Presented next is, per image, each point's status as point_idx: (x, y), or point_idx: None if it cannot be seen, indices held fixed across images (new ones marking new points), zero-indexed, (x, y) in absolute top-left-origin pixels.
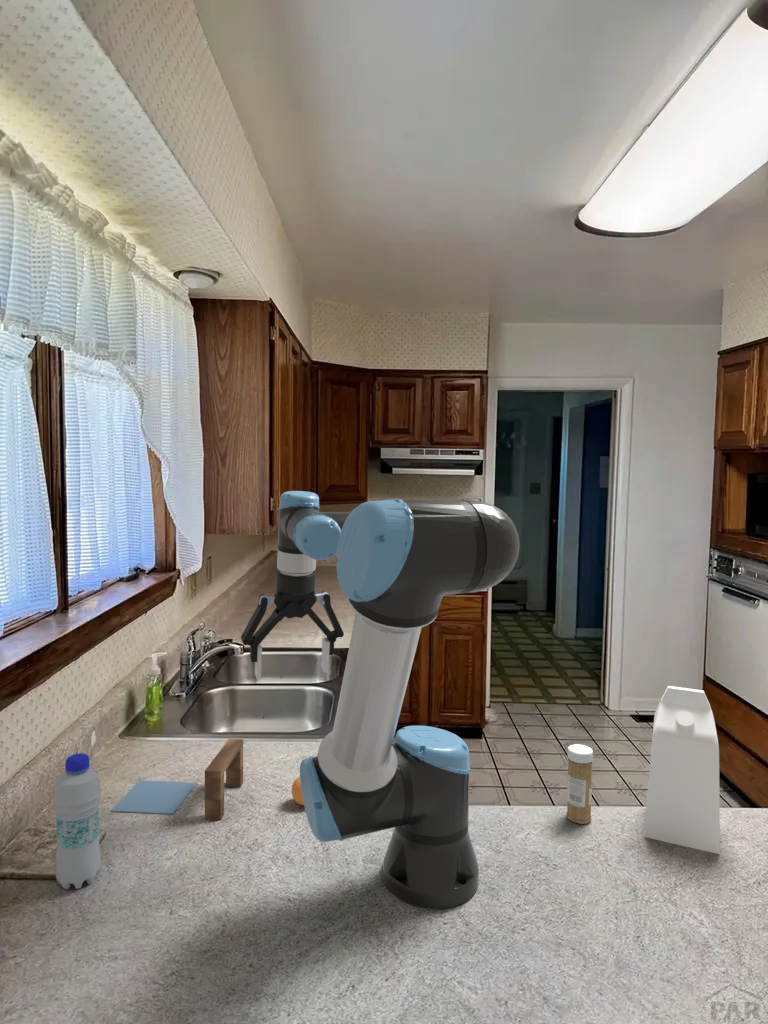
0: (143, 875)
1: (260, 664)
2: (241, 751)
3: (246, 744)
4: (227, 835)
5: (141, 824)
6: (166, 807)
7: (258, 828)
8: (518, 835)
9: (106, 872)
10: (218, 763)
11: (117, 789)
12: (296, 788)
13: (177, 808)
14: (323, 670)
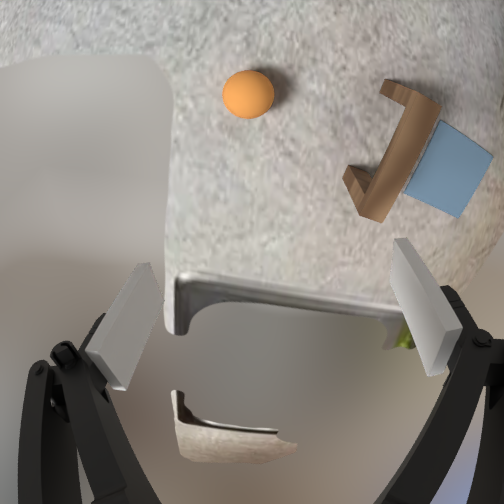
0: (466, 3)
1: (419, 272)
2: (359, 196)
3: (319, 283)
4: (377, 36)
5: (471, 111)
6: (446, 138)
7: (331, 38)
8: (4, 24)
9: (496, 31)
10: (417, 127)
11: (479, 205)
12: (266, 82)
13: (434, 133)
14: (153, 276)
